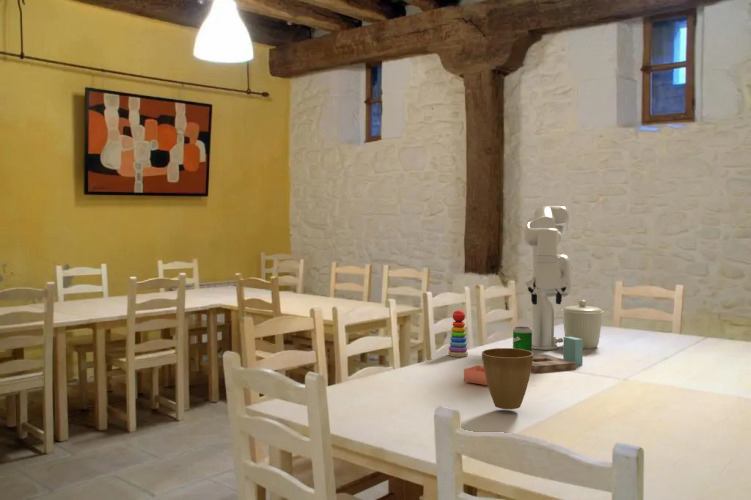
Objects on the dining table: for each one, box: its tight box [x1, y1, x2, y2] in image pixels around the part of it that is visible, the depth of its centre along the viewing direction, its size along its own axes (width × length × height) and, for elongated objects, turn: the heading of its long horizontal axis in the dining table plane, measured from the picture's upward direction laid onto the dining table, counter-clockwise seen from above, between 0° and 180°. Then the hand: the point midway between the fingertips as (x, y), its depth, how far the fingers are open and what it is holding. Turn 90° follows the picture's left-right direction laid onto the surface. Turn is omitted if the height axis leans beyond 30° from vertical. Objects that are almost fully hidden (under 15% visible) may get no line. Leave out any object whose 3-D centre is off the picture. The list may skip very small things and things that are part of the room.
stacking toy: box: [448, 309, 469, 358], centre depth 281 cm, size 8×8×19 cm
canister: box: [560, 299, 605, 350], centre depth 301 cm, size 18×18×21 cm
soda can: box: [512, 326, 533, 352], centre depth 279 cm, size 8×8×12 cm
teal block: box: [562, 336, 584, 367], centre depth 265 cm, size 4×7×10 cm, turn 23°
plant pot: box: [481, 347, 534, 410], centre depth 201 cm, size 15×15×16 cm
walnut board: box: [530, 353, 577, 374], centre depth 260 cm, size 18×18×4 cm
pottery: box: [463, 364, 488, 386], centre depth 239 cm, size 18×10×10 cm, turn 141°
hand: (546, 304), depth 268 cm, fingers open, 9 cm apart
